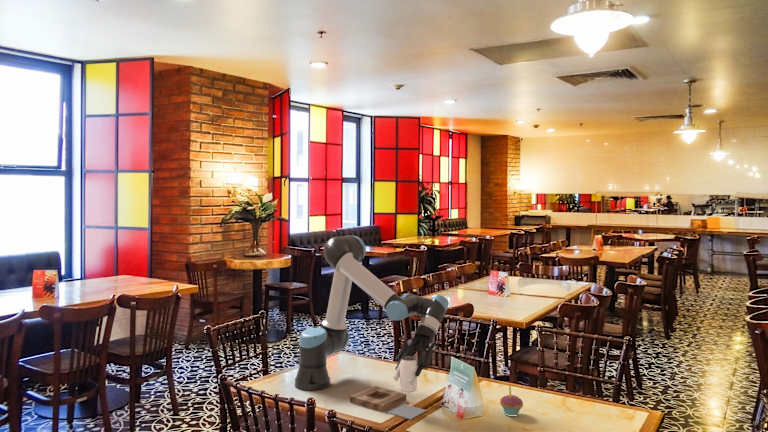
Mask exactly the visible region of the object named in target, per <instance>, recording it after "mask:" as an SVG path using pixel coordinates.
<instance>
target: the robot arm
mask: <svg viewBox="0 0 768 432" xmlns="http://www.w3.org/2000/svg"><path fill="white" fill-rule="evenodd" d="M366 253H367V248H366V244H365V242H364V241H363V239H361V237H359V236H357V235H350V234H349V235H343V236H341V235H340V236H334V237H331V238H329V239H328V240H327V241H326V242H325V243H324V246H323V257H324V259H325V261H326V263H328V265H330V267H331V268H333V269H334V271H333V277H332V282H331V287H330V293H329V299H328V305H327V309H326V314H325V315H326V316H325V318H324V319H323V320H322V321H321V324H320V327H312V328H306V329H305V330H302V332H301V333H300V334H299V339H298V345H299V355H298V358H299V359H298V362H299V363H298V370H297V372H296V375H295V379H294V387H295V388H297V389H300V390H303V391H319V390H320V391H321V390H323V389H327V388H328V387H330V386H331V378H330V375H329V371H328V368H327V357H329V356H331V355H334V354H337V353H340V352H341V351H343V350H344V349H345V348H346V347H347V346H348V344H349V342H350V333H349V332H348V325H347V324H346V316H347V310H348V305H349V301H350V293H351V290H352V283H354V284H355V285H357V287H359V288H360V289H361V290H362V291H364V292H365V293H366V294H367V295H368V296H370V298H371V299H373V301H375V302H376V303H378V305H380V306H381V307H382V308H383V309H384V310H385V314H386V316H387V318H388V319H390V320H391V321H402V320H404V319H406V318H408V317H411V316H413V315H416V316H420V317H421V319H420V321H419V324H418V326H417V328H416V329H415V332H414V336H413V337H412V338H411V339H409V338H405V339H404V342H403V345H402V346H401V347H400V350H399V351H398V353H397V355H396V357H395V361H396V362H397V364H396V367H395V368H394V369H395V372H394V374H393V376H392V378H393V379H394V380H395V381H396V382H399V380H400V361H401V358H402V357H404V356H413V354H415V353H416V352H419V354H418V355H419V356H418V361H417V366H415V368H414V370H413V373H412V375H411V377H410V379H409V382H410V383H411V385H413V384H414V382H415V380H416V378H417V379H418V377H420V376H421V373H422V371H423V370H424V369H425V370H428V369H429V366H430V364H431V361H432V359H433V355H434V352H435V351H436V350H437V346H436V345H435V343H432V342H433V341H434V338H435V337H436V333H438V332H437V331H438V330H439V328H440V325H441V323H442V320H443V319H444V316H445V315H446V313H447V310H448V308H449V303H450V302H449V300H448V298H447V297H445V296H444V295H441V294H438V293H437V294H433V295H432V296H431V298H427V297H423V296H419V295H416V294H413V293H403V294H402V295H401V296H399V295H398V294H397V293H396V292H394V290H393V289H391V288H390V287H389V286H388V285H386V284H385V283H384V282H383V281H382V280H380V279H379V278H378V277H377V276H376V275H374V274H373V273H372V272H371V271H370V270H369V269H368V268H366V267H365V266H364V265H363V264H361V262H360V261H362V260H363V259H364V257H365V256H366Z"/></svg>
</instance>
